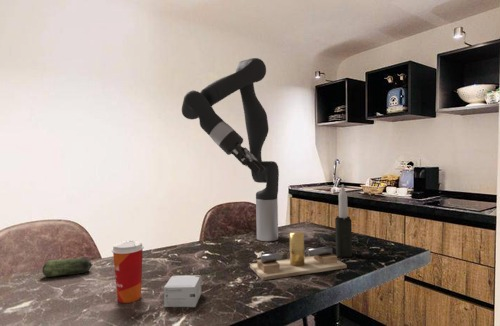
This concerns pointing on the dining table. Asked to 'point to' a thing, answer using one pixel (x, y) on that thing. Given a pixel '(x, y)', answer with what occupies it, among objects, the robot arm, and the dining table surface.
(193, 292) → the small box
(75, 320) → the dining table surface
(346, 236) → the black and grey bottle
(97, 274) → the dining table surface
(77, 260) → the vegetable
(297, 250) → the cylinder
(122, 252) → the paper cup
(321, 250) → the shafts
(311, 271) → the shaft bench
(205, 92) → the robot arm
